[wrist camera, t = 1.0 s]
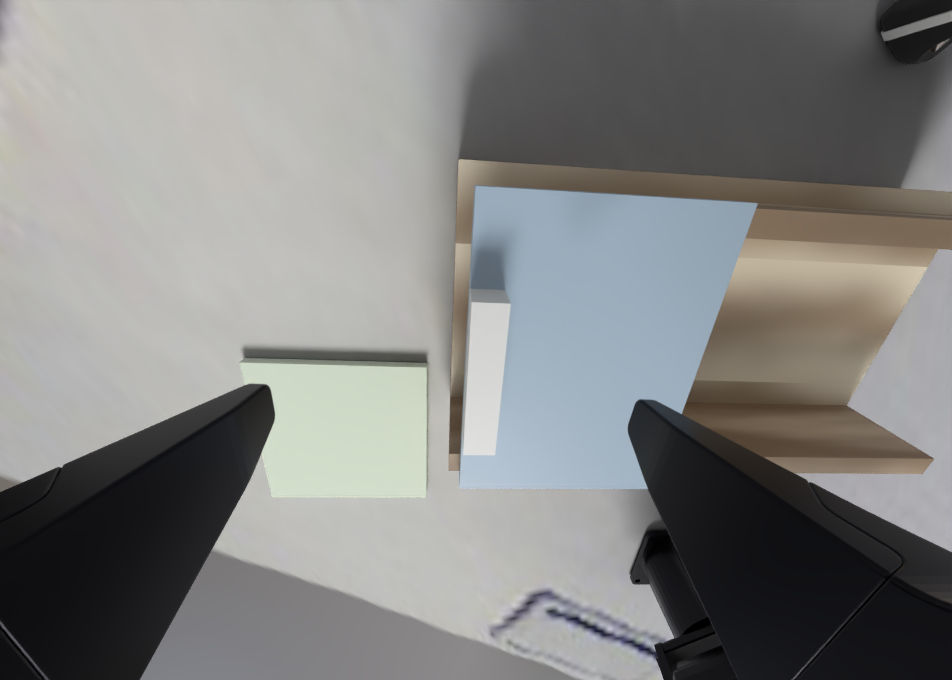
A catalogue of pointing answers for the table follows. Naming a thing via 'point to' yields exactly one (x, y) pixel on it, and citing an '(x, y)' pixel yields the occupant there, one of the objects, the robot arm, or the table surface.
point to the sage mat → (344, 427)
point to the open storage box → (770, 306)
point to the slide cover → (584, 327)
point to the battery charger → (917, 29)
